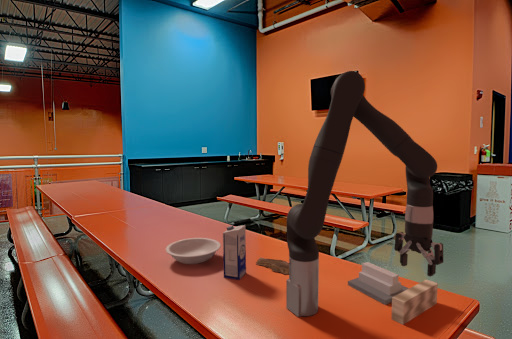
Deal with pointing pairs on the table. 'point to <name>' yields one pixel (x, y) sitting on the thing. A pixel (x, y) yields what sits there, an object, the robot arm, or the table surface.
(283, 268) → the wooden fragment
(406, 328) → the table surface
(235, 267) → the milk carton
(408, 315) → the ash bar
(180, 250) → the soup bowl
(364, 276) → the ridge stand
